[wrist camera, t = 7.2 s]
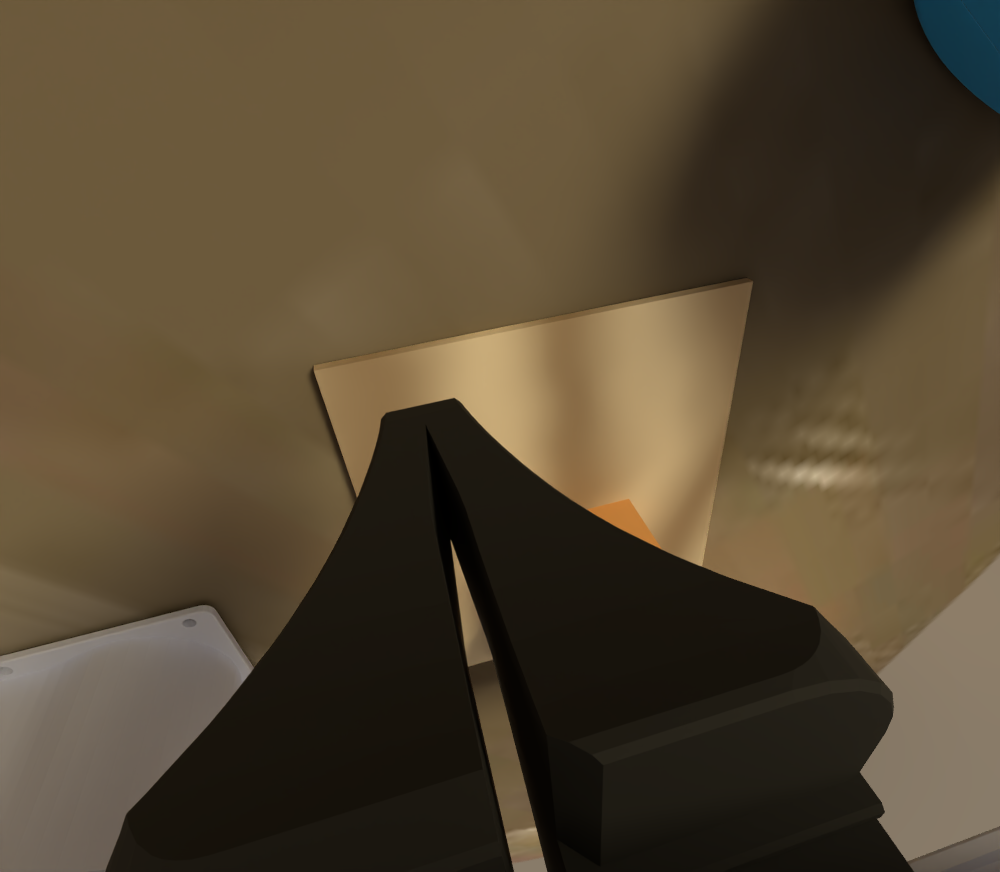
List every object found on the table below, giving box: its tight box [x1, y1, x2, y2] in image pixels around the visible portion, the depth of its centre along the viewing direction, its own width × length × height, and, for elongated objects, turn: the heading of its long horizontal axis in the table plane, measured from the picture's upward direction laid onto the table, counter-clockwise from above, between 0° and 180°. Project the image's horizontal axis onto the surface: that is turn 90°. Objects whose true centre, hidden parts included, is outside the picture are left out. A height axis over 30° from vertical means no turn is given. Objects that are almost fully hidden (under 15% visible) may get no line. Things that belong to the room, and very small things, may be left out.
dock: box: [314, 278, 753, 707], centre depth 23 cm, size 16×19×5 cm
